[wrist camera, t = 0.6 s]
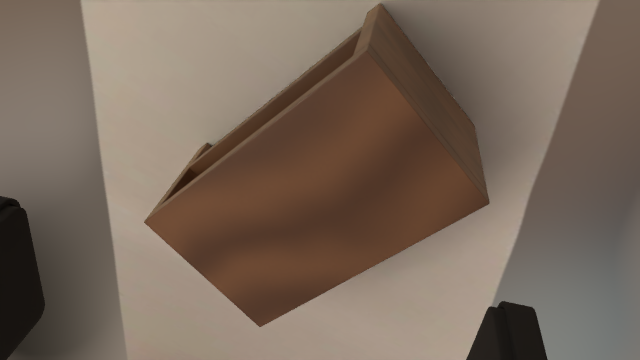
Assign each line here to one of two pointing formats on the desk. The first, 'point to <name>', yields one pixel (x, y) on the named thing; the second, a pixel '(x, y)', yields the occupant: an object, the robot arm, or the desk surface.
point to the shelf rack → (326, 177)
